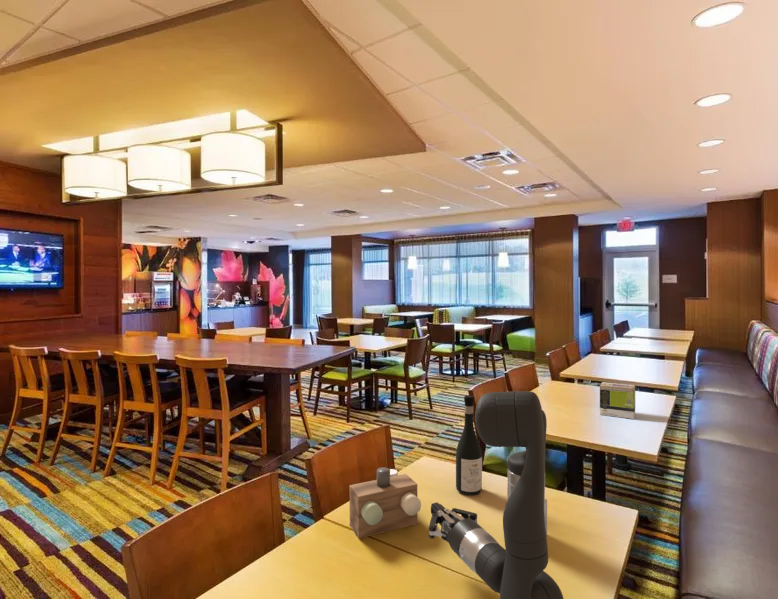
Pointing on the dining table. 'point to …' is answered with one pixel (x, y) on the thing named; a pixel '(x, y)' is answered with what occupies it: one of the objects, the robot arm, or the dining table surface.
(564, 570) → the dining table surface
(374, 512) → the knob sage
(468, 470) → the wine bottle
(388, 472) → the dark grey cylinder
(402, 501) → the knob cream
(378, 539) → the dining table surface
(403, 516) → the brown wooden block
